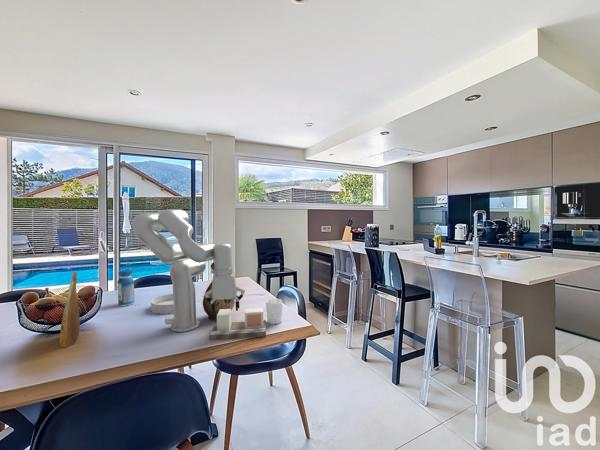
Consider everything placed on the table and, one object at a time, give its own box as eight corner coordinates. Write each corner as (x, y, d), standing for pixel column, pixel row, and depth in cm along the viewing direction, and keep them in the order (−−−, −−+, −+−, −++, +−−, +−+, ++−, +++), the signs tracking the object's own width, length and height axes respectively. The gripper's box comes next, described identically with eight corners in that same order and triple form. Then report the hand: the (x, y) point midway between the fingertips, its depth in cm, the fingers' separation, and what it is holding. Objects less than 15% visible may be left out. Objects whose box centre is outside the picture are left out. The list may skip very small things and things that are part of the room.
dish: (200, 301, 173) (200, 293, 172) (181, 314, 151) (181, 305, 150) (165, 301, 175) (165, 293, 175) (141, 314, 153) (141, 304, 153)
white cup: (284, 319, 141) (284, 299, 141) (279, 325, 134) (279, 304, 133) (269, 318, 144) (269, 298, 143) (263, 323, 136) (263, 303, 136)
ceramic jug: (226, 324, 136) (225, 261, 135) (197, 322, 140) (195, 260, 138) (241, 311, 153) (239, 255, 152) (214, 310, 156) (212, 255, 155)
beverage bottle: (129, 306, 165) (127, 271, 164) (114, 306, 165) (113, 271, 164) (137, 301, 173) (136, 268, 173) (124, 301, 174) (122, 268, 173)
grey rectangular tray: (209, 340, 119) (209, 332, 119) (215, 327, 132) (215, 320, 132) (265, 336, 122) (265, 329, 122) (265, 324, 135) (265, 317, 135)
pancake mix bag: (85, 330, 132) (82, 269, 130) (78, 346, 115) (75, 277, 114) (66, 333, 128) (63, 271, 127) (57, 351, 112) (53, 279, 111)
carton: (244, 328, 125) (244, 313, 125) (245, 324, 131) (245, 309, 130) (263, 327, 126) (263, 312, 126) (263, 323, 132) (263, 308, 131)
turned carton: (219, 324, 131) (219, 309, 130) (231, 323, 131) (231, 308, 131) (216, 331, 123) (216, 315, 122) (229, 331, 123) (228, 314, 123)
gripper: (201, 275, 121) (203, 315, 122) (243, 272, 123) (245, 312, 124) (205, 271, 129) (207, 309, 129) (244, 269, 131) (246, 306, 131)
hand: (225, 310), depth 126 cm, fingers open, 9 cm apart
